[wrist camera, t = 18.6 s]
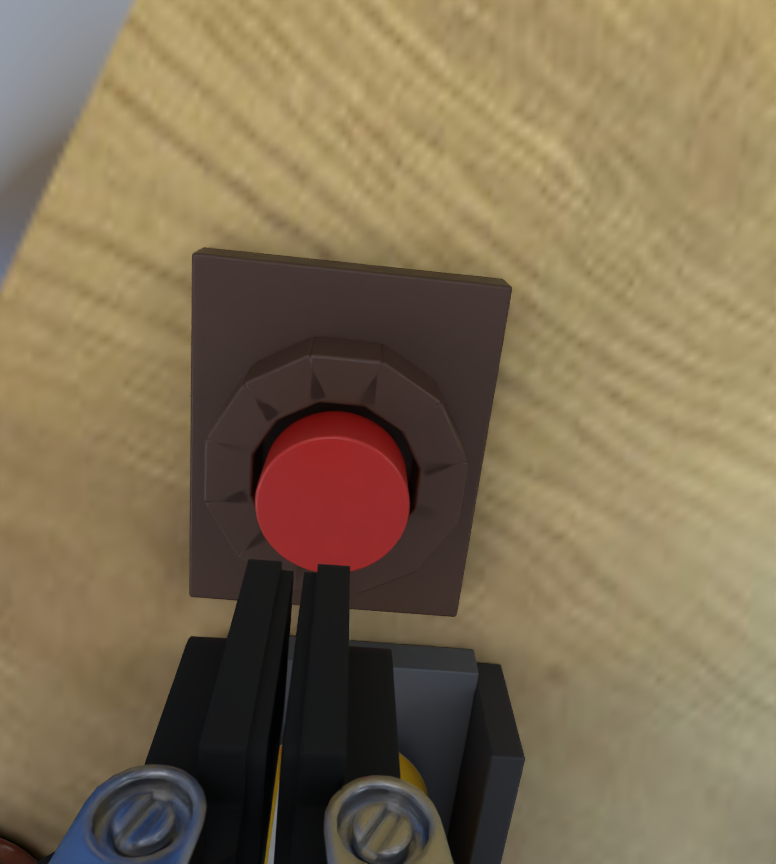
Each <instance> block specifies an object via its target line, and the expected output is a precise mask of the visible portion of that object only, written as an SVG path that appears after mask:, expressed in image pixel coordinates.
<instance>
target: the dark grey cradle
mask: <svg viewBox="0 0 776 864" xmlns="http://www.w3.org/2000/svg"><path fill="white" fill-rule="evenodd" d="M228 634H229V633H228ZM227 638H228V636H227ZM295 640H296V637H294V636H290V638H289V653H288V667H287V681H286V696H285V708H284V717H283V726H282V733H281V741H280V745H281V744H282V743H283V735H284V726H285V719H286V711H287V703H288V695H289V687H290V679H291V671H292V664H293V656H294V648H295ZM349 646H355V647H371V648H387V649H391V651H392V658H393V673H394V688H395V703H396V717H397V732H398V747H399V753H401V754H402V755H403V756H404V757H406V758H407V759H408V760H409V761H410V762H411V763H412V764H413V765H414V766H415V768H416V769H417V770H418V772H419V773H420V775H421V777H422V779H423V781H424V783H425V786H426V788H427V793H428V798H429V799H430V800H431V801H432V802H433V804H434V806H435V808H436V810H437V812H438V814H439V816H440V818H441V822H442V825H443V829H444V832H445V835H446V839H447V842H448V846H449V849H450V853H451V856H452V859H453V861H454V862H455V863H456V864H501V860H502V856H503V852H504V847H505V843H506V839H507V834H508V830H509V826H510V821H511V817H512V813H513V809H514V804H515V800H516V796H517V791H518V787H519V783H520V778H521V774H522V770H523V765H524V761H525V757H524V753H523V749H522V745H521V741H520V737H519V734H518V730H517V726H516V722H515V718H514V714H513V710H512V706H511V703H510V699H509V695H508V691H507V687H506V683H505V679H504V675H503V672H502V668H501V665H499V664H486V663H476V659H475V654H474V650H472V649H458V648H444V647H431V646H417V645H403V644H390V643H376V642H362V641H349Z"/></svg>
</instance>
